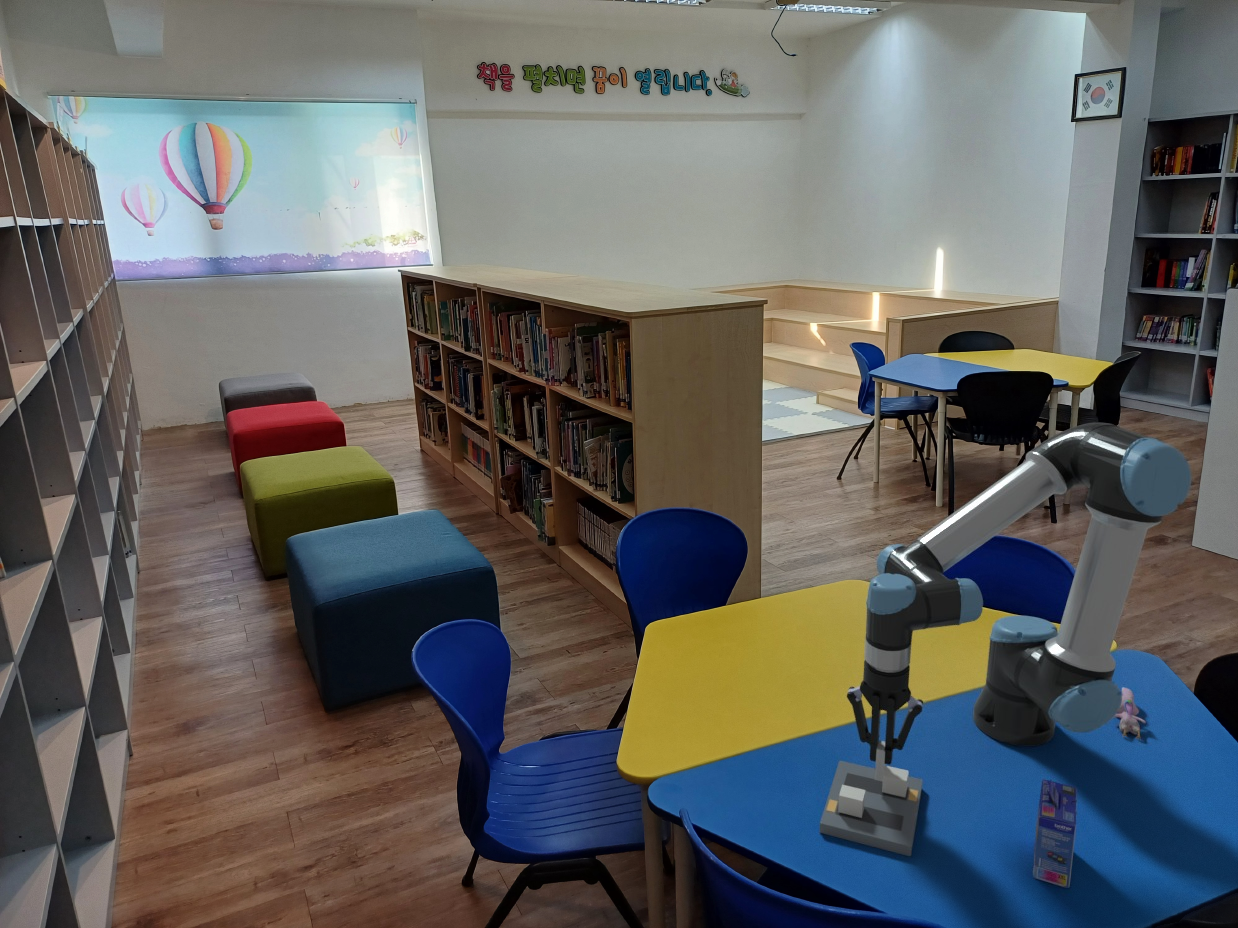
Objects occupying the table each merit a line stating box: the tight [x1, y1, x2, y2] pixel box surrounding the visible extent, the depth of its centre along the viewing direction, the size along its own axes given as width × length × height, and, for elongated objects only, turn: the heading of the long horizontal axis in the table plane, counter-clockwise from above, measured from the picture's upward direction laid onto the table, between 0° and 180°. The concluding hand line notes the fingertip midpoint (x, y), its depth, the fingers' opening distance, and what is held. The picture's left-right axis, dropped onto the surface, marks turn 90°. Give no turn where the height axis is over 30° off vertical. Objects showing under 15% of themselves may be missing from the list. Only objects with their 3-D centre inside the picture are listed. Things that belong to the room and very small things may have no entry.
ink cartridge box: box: [1032, 778, 1078, 889], centre depth 137 cm, size 10×6×14 cm, turn 153°
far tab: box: [882, 765, 909, 797], centre depth 153 cm, size 4×3×4 cm
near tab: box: [838, 785, 866, 818], centre depth 149 cm, size 4×3×4 cm
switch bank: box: [819, 760, 924, 857], centre depth 152 cm, size 15×18×2 cm
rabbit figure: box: [1111, 687, 1147, 741], centre depth 174 cm, size 6×6×15 cm
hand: (879, 775), depth 154 cm, fingers closed
